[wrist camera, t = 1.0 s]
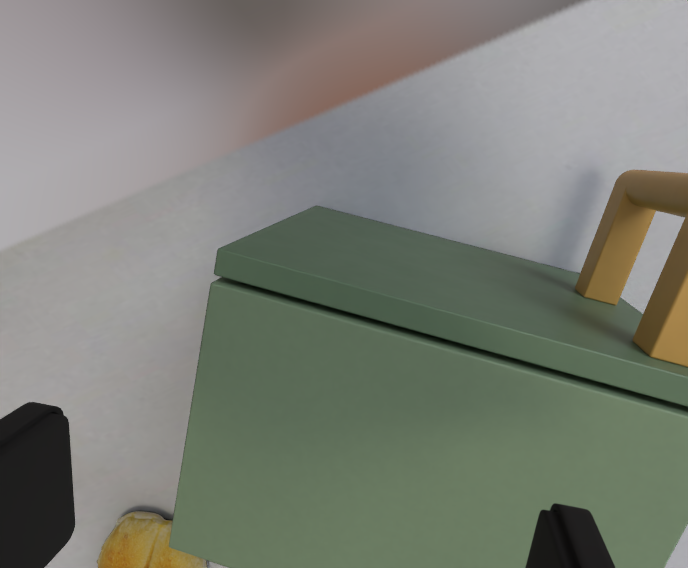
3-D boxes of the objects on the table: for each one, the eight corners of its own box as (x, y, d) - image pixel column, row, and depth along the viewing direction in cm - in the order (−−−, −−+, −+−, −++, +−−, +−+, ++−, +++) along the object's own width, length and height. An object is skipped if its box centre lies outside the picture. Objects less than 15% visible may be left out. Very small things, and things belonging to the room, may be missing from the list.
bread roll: (196, 606, 43) (173, 650, 39) (105, 561, 43) (74, 600, 39) (225, 538, 40) (204, 578, 37) (129, 491, 41) (98, 525, 37)
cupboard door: (337, 105, 30) (247, 56, 15) (633, 175, 29) (858, 197, 14) (312, 220, 32) (212, 274, 17) (587, 292, 31) (739, 421, 16)
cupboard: (312, 223, 33) (209, 282, 17) (585, 295, 31) (738, 430, 16) (278, 381, 36) (167, 547, 21) (522, 454, 34) (598, 694, 19)
